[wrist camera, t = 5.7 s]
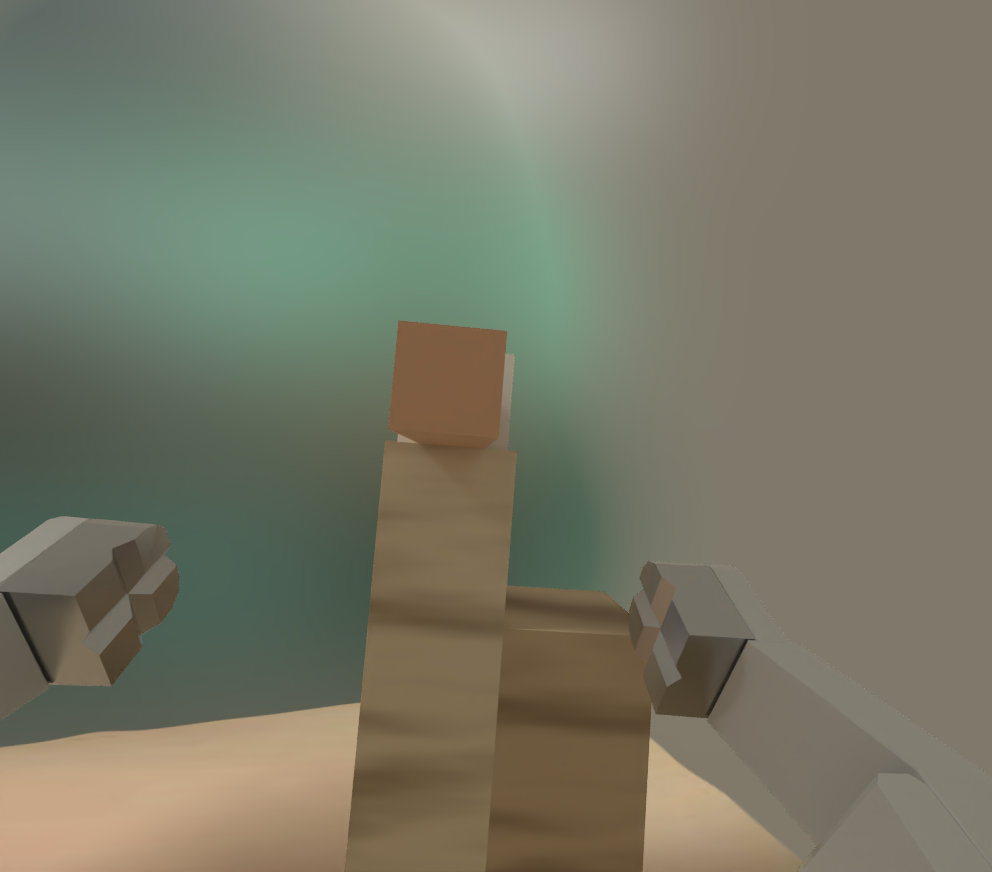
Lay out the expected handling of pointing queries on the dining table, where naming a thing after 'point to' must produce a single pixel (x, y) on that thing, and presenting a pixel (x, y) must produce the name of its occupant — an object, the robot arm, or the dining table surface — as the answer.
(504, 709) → the beige tall block
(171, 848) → the dining table surface
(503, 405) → the hammer
